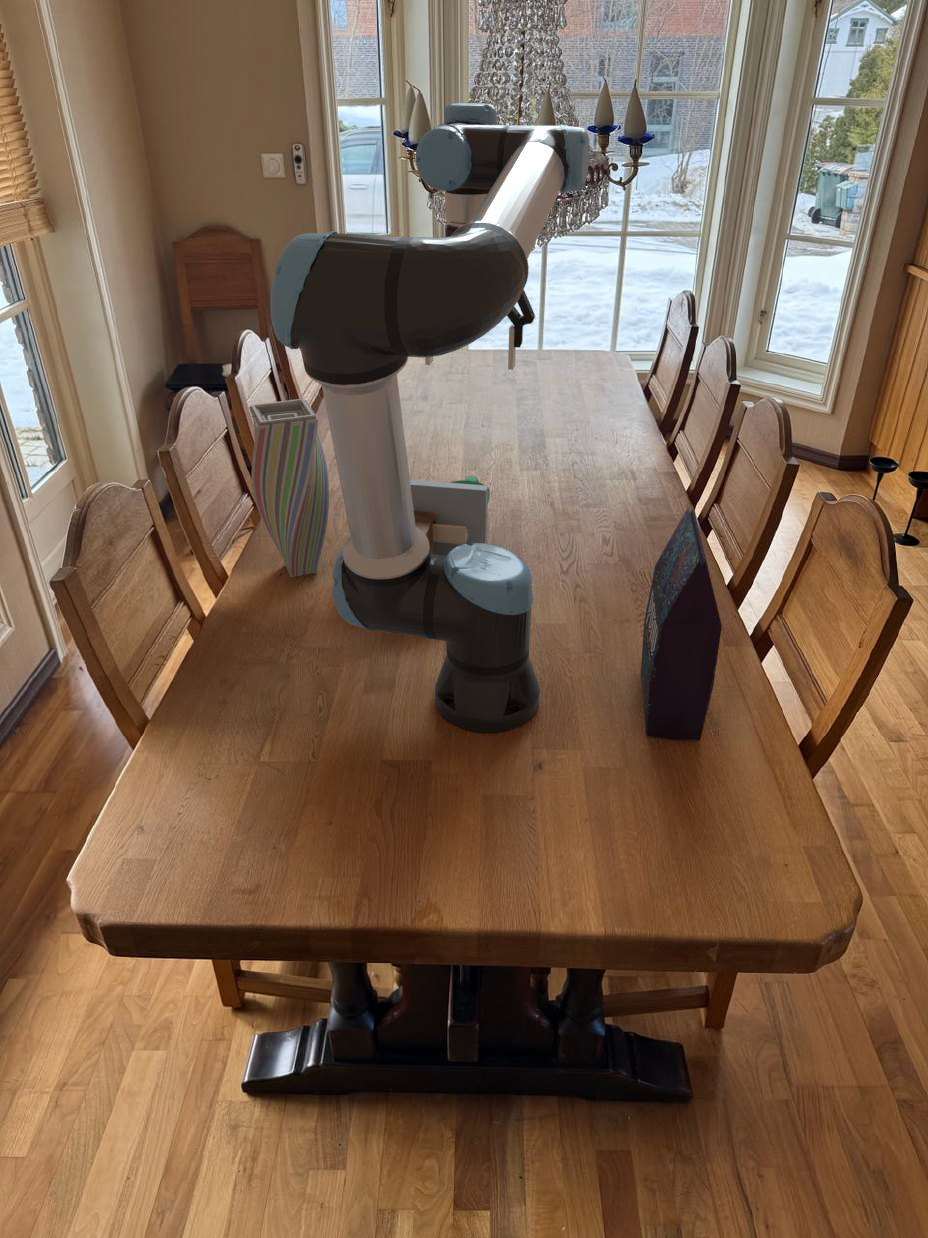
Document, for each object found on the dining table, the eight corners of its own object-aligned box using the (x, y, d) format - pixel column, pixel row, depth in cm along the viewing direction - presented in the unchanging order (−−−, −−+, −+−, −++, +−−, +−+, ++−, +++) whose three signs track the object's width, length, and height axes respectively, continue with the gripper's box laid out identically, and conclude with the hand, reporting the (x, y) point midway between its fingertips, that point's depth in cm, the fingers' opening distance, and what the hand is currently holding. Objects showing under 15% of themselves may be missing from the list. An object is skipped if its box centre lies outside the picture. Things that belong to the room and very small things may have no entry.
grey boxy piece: (482, 591, 153) (483, 497, 143) (350, 578, 157) (343, 486, 147) (492, 562, 162) (493, 471, 152) (367, 550, 166) (361, 461, 156)
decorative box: (642, 739, 120) (668, 560, 105) (637, 669, 134) (659, 502, 118) (703, 743, 119) (738, 564, 104) (691, 673, 133) (720, 505, 118)
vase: (328, 546, 167) (313, 392, 151) (346, 579, 157) (332, 417, 141) (257, 558, 163) (234, 402, 147) (271, 593, 153) (248, 428, 136)
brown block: (426, 588, 148) (424, 536, 142) (386, 584, 149) (382, 533, 143) (437, 561, 155) (436, 511, 149) (399, 558, 156) (396, 508, 150)
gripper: (556, 221, 131) (549, 362, 143) (395, 216, 135) (401, 354, 147) (551, 229, 125) (543, 376, 137) (383, 224, 129) (389, 367, 141)
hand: (470, 365), depth 142 cm, fingers open, 13 cm apart
